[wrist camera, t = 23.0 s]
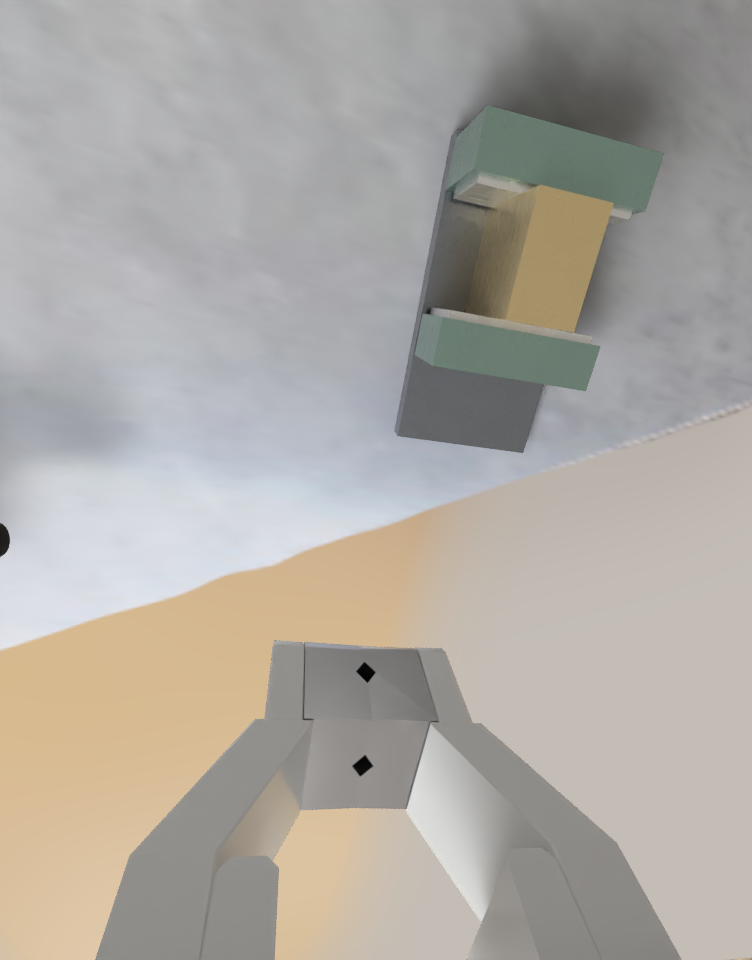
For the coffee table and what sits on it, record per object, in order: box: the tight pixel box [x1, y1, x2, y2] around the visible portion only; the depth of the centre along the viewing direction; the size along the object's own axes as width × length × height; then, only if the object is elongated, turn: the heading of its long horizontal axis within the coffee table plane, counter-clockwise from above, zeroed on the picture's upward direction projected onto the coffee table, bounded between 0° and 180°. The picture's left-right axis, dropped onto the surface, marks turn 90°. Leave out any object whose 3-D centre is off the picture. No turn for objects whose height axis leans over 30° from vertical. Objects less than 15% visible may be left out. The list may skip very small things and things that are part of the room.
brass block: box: [465, 185, 614, 333], centre depth 31 cm, size 4×7×8 cm, turn 170°
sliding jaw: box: [415, 308, 600, 391], centre depth 33 cm, size 4×11×6 cm, turn 80°
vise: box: [395, 105, 664, 453], centre depth 33 cm, size 21×11×8 cm, turn 170°
